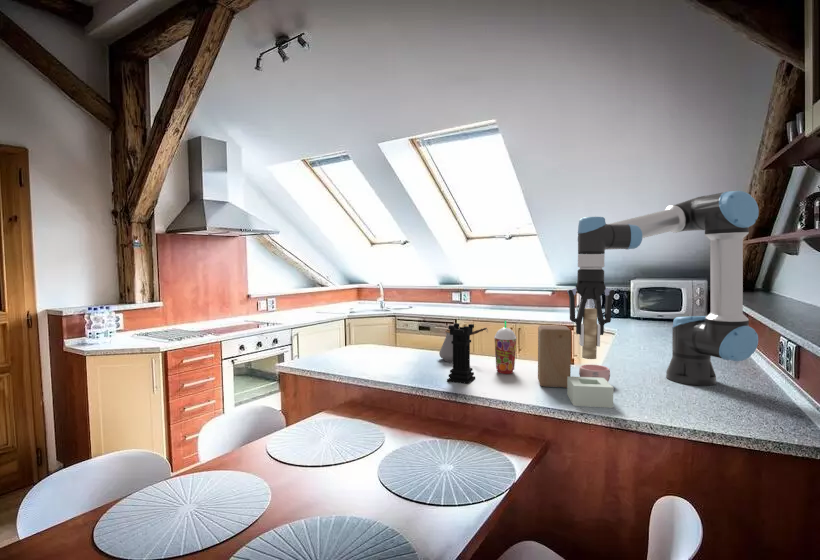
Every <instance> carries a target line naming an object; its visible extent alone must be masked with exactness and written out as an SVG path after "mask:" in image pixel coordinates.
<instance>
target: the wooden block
mask: <svg viewBox="0 0 820 560" xmlns="http://www.w3.org/2000/svg"><path fill="white" fill-rule="evenodd" d="M537 330H538V331H537V379H538V382H539V385H540V386H541V387H542V386H543V387H546V388H560V387H563V389H564V388H565V389H567V376H571V372H572V371H571V366H572V365H571V364H572V363H571V362H572V361H571V360H572V359H571V358H572V357H571V356H572V355H571V354H572V331H571V329H570V328H569V327H568V326H566V325H556V324H555V325H550V324H548V325H546V324H541V325H538V328H537Z"/></svg>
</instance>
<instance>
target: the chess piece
mask: <svg viewBox="0 0 820 560" xmlns="http://www.w3.org/2000/svg"><path fill="white" fill-rule="evenodd" d="M474 328H475V324H473V323H469V324H468V325H464V326H460V323H458V322H457V323H456V322H455V323H453V325H452V324H451V325H448V330H450V335H453V341H451V344H453V362H452V369H450V370H449V374H448V378H447V379H446V382H448V383H455V384H464V385H469V384H471V383H472V382H474V380H476V376H474V375H475V372H472V371H473V370H474V369H473V367H471V362H470V361H471V360H470V359H471V352H470V351H471V349H470V348H471V345H470V344H471V343H472V339H470V338H471V335H470V334H472V333H473V332H474V330H473V329H474Z"/></svg>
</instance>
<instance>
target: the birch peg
mask: <svg viewBox="0 0 820 560" xmlns="http://www.w3.org/2000/svg"><path fill="white" fill-rule="evenodd" d="M582 324H584V346H581V347H582V348H581V349H582V356H581V358H583V359H587V360H597V347H598V346H597V324H598V318H597V309H596V308H595V307H585V310H584V314H583V318H582Z"/></svg>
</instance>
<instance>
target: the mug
mask: <svg viewBox="0 0 820 560" xmlns="http://www.w3.org/2000/svg"><path fill="white" fill-rule="evenodd" d="M578 375H579V377H596V378H605V379H606V380H607V381H608V382H610V377H611V370H610V368H609V367H608V366H605V365H599V364H582V365H580V366H579V370H578Z"/></svg>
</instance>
